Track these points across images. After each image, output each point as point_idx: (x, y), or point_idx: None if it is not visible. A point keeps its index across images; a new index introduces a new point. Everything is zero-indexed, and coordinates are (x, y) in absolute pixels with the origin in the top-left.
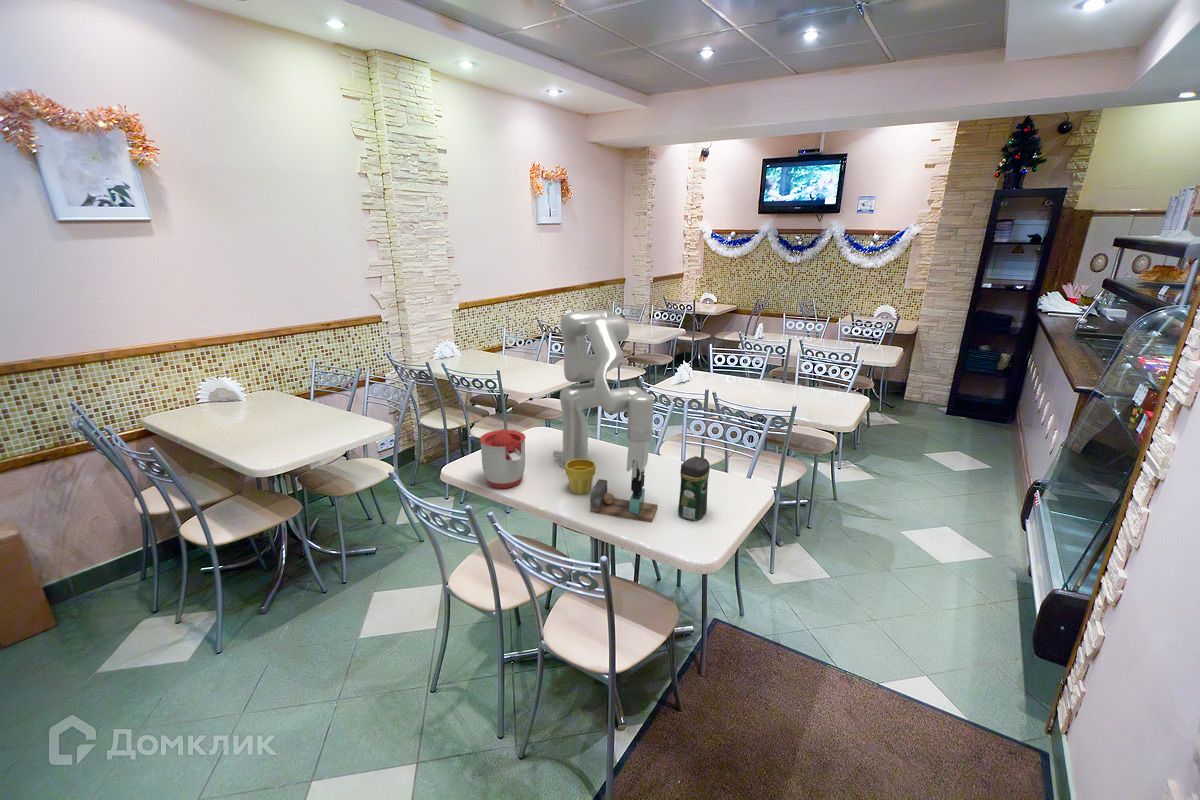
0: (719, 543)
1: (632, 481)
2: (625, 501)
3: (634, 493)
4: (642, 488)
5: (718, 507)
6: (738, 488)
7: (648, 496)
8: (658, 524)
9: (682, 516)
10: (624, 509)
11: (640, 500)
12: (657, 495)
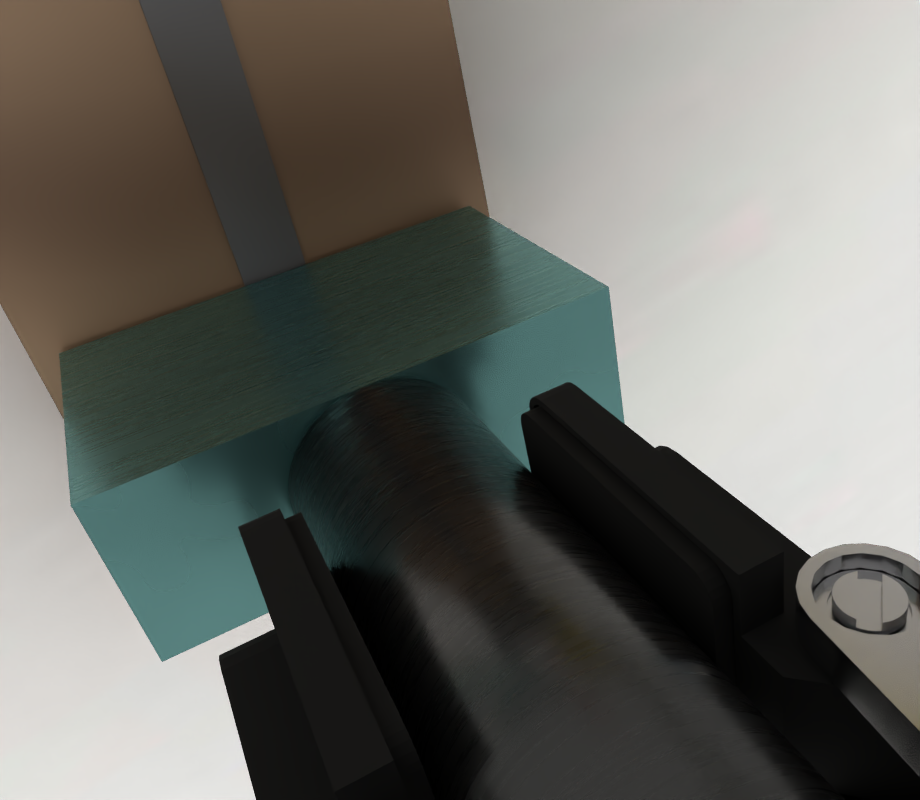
0: None
1: (319, 748)
2: (395, 51)
3: (298, 495)
4: (617, 412)
5: None
6: None
7: (739, 191)
8: (195, 662)
9: None
10: (131, 196)
11: None
12: (790, 266)
